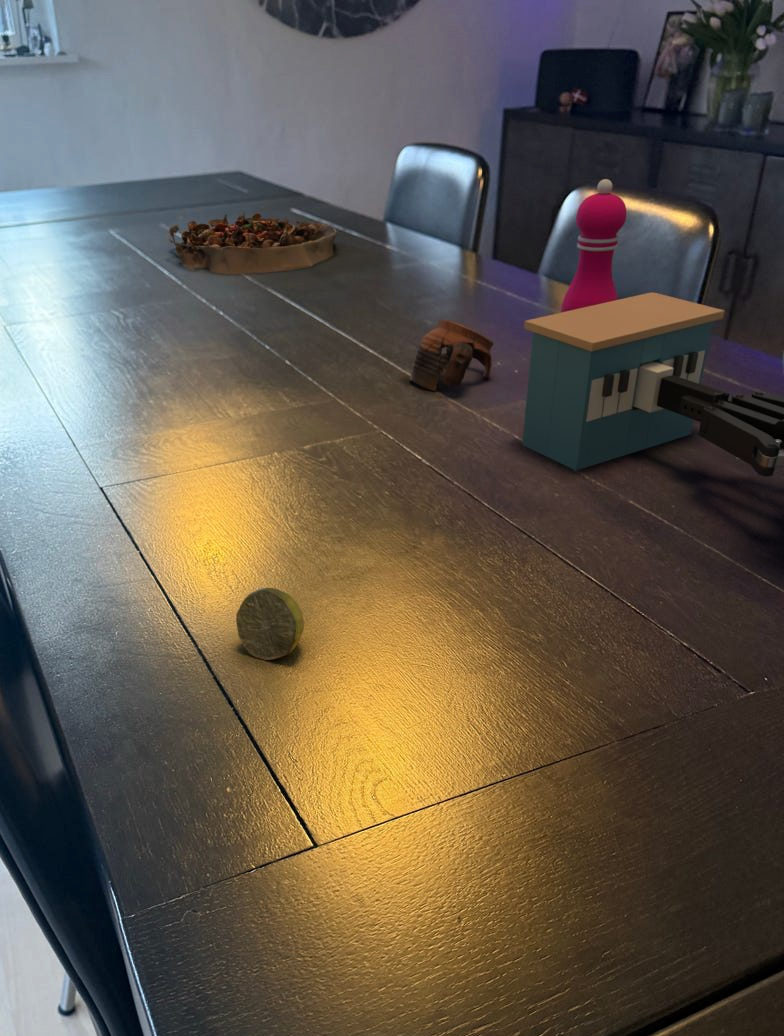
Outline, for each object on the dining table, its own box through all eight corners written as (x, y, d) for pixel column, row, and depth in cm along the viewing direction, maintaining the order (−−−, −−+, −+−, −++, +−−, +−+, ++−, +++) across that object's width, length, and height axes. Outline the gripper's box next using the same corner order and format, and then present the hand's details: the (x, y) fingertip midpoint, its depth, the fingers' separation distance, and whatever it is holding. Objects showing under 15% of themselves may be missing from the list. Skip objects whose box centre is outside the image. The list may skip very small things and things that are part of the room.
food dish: (169, 246, 195) (165, 205, 191) (325, 238, 197) (325, 198, 193) (167, 278, 165) (162, 231, 161) (350, 268, 168) (350, 222, 164)
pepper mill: (624, 343, 124) (649, 178, 112) (587, 355, 120) (609, 186, 109) (582, 332, 129) (602, 172, 118) (545, 342, 126) (562, 179, 114)
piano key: (666, 408, 90) (674, 367, 88) (650, 413, 90) (657, 372, 87) (634, 396, 93) (640, 356, 91) (618, 401, 93) (624, 361, 90)
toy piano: (699, 435, 97) (725, 310, 90) (575, 474, 90) (592, 342, 83) (633, 410, 104) (652, 291, 97) (513, 445, 97) (524, 320, 90)
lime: (307, 664, 66) (304, 605, 63) (239, 670, 66) (233, 610, 63) (302, 630, 70) (299, 572, 67) (238, 635, 70) (232, 578, 67)
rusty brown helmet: (397, 376, 118) (425, 313, 116) (462, 406, 120) (491, 345, 118) (416, 382, 107) (447, 313, 104) (488, 415, 109) (520, 347, 106)
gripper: (833, 539, 71) (608, 442, 88) (937, 497, 76) (704, 413, 93) (862, 447, 67) (620, 364, 84) (970, 409, 72) (720, 338, 89)
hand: (664, 390), depth 89 cm, fingers closed
